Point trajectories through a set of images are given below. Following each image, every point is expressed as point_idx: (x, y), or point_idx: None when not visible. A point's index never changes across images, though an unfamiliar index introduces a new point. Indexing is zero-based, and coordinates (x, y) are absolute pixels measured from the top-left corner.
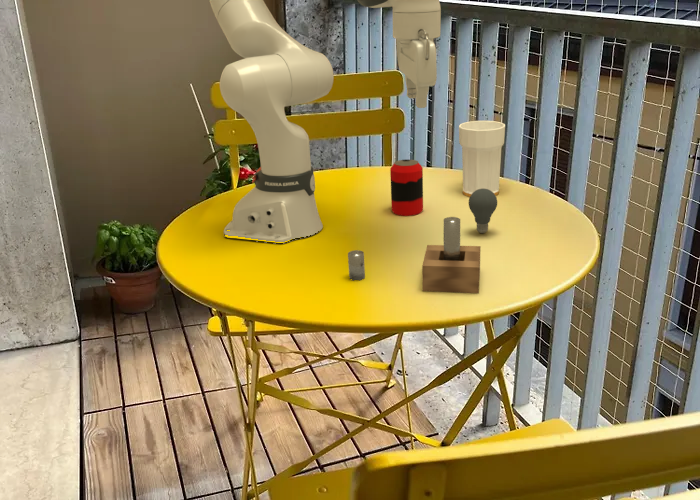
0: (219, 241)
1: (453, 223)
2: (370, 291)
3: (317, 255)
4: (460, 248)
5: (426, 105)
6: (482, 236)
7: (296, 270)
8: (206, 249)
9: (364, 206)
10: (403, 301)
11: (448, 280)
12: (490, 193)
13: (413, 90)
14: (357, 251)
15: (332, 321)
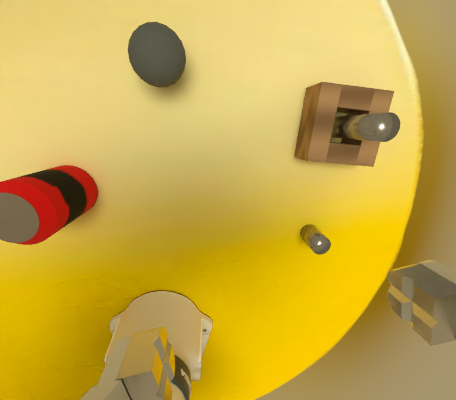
0: (202, 376)
1: (399, 125)
2: (344, 215)
3: (245, 280)
4: (326, 113)
5: (436, 261)
6: None
7: (283, 291)
8: (224, 379)
9: (59, 252)
10: (372, 181)
11: None
12: (163, 33)
13: (158, 380)
14: (316, 244)
15: (398, 241)
